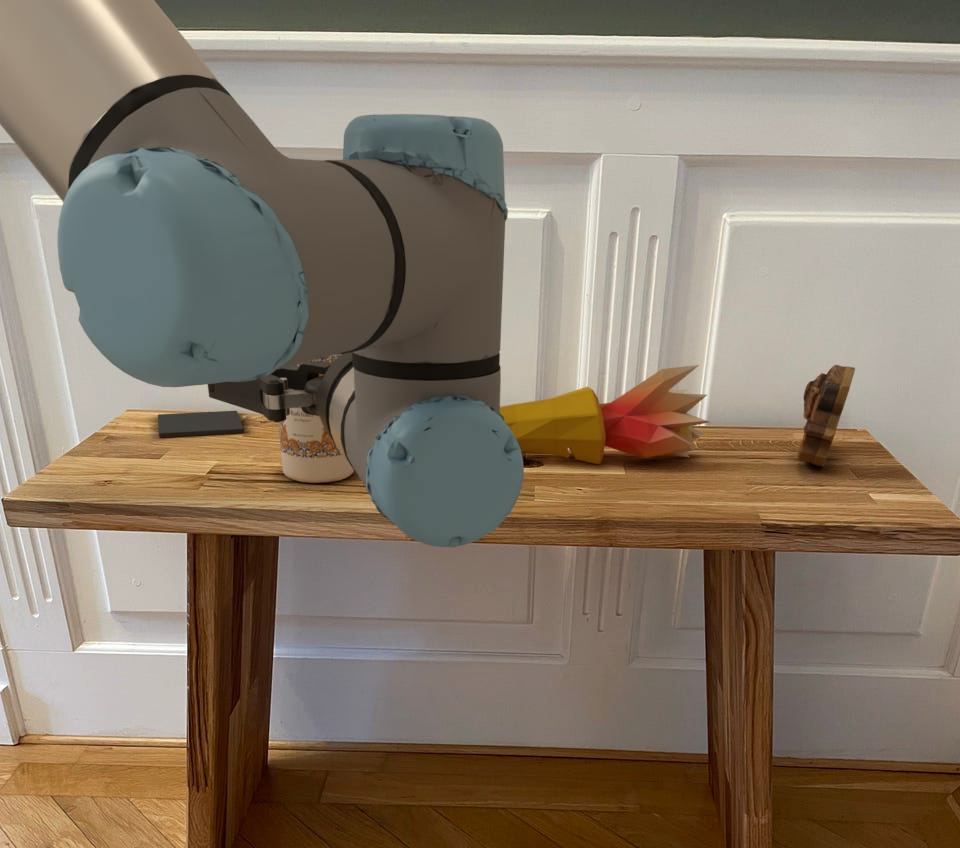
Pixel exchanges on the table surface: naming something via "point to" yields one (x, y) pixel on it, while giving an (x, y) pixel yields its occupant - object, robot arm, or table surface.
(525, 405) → the torch
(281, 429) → the bath foam
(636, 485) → the table surface
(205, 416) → the mat
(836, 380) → the wooden carving
